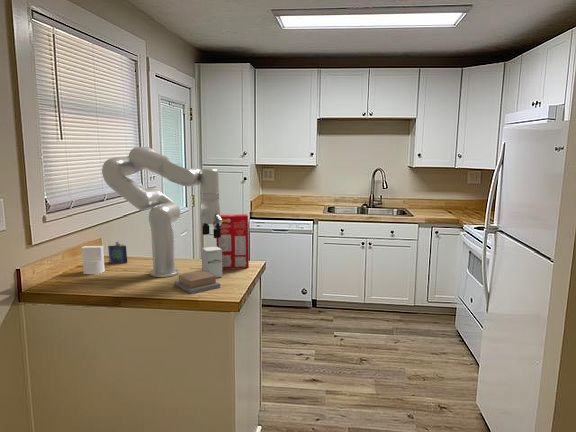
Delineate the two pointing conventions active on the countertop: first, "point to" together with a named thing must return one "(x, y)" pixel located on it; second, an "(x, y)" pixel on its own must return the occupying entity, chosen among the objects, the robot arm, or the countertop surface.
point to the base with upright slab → (93, 259)
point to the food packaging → (234, 241)
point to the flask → (117, 253)
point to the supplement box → (212, 260)
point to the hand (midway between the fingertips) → (211, 236)
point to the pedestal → (197, 282)
